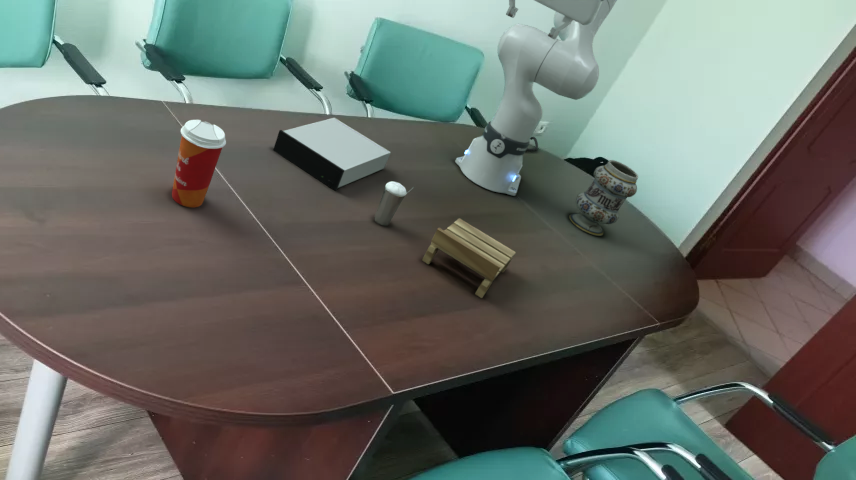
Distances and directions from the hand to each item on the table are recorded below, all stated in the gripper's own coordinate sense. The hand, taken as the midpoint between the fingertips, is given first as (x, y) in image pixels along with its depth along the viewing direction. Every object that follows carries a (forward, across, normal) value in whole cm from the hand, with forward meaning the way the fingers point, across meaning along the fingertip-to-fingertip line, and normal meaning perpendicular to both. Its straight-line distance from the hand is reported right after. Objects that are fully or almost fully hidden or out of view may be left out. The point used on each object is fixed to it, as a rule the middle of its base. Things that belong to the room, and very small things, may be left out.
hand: (530, 26), depth 132 cm
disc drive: (+44, +26, +8) cm, 51 cm away
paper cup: (+44, +31, +52) cm, 75 cm away
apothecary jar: (+44, -30, -41) cm, 67 cm away
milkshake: (+44, +5, +20) cm, 48 cm away
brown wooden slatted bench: (+44, -14, +16) cm, 49 cm away
